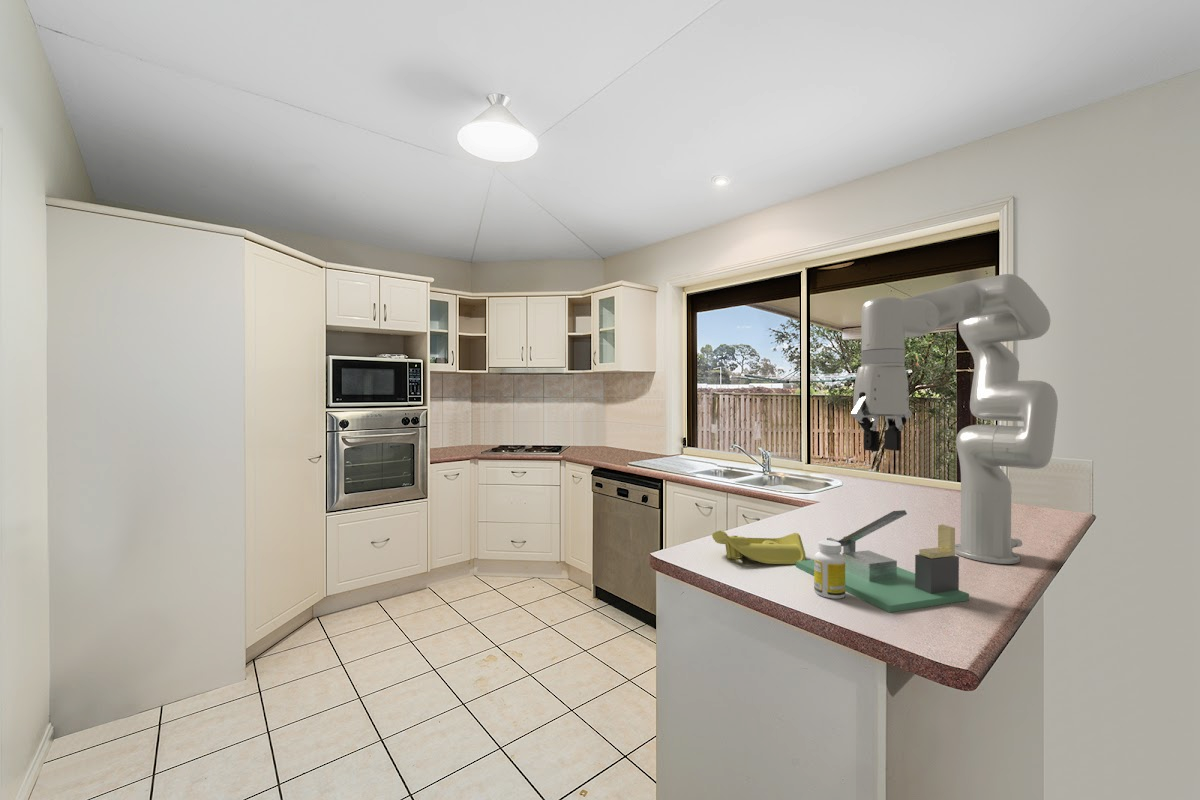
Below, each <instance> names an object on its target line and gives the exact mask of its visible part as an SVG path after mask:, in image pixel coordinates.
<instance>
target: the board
mask: <svg viewBox="0 0 1200 800" xmlns="http://www.w3.org/2000/svg"><path fill="white" fill-rule="evenodd" d="M846 536H847V535H845V536H843V537H842V539H843V538H845V537H846ZM826 540H830V541H836V542H839V539H835V538H832V537H826ZM856 542H857V541H855V542H853V543H851V544H849V545H847V546H842V547H843V548H842V549H843V550H842V551H843V552H842V553H848V552H856ZM795 567H796V568H797V569H799V570H802V571H804V572H805V573H808V574H810V575H812V576H814V559H808V560H807V559H805V560H804V561H796V564H795ZM845 593H849V594H851V595H853V596H855V597H857V598H859V599H861V600H863V601H866V602H867V603H869V604H871V605H873V606H875V607H877V608H880V609H882V610H884V611H886V612H888V613H895V612H901V611H908V610H916V609H919V608H921V609H922V608H928V607H935V606H940V605H946V604H947V605H948V604H954V603H959V602H960V603H961V602H965V601H966V602H967V601H969V600H970V593H967V592H965V591H962V590H960V589H959V590H955V591H948V592H941V593H934V594H930V593H927V592H925V591H922V590H920V589H918V588H915V572H912V571H910V570H907V569H904V568H902V567H899V566H897V578H893V579H885V580H877V581H867V580H865V579H863V578H860V577H858V576H856V575H853V574H851V573H849V572H847V571H845Z"/></svg>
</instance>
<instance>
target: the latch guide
mask: <svg viewBox="0 0 1200 800" xmlns="http://www.w3.org/2000/svg"><path fill="white" fill-rule="evenodd" d="M914 557H915V560H914V565H915V566H914V567H915V568H914V571H915V572H914V573H915V588H918V589H920V590H922V591H925V592H927V593H930V594H934V593H941V592H948V591H955V590H960V589H959V587H960V586H959V585H960V569H959V568H960V557H959V555H955V556H950V557H941V558H933V559H931V558H928V557H925V556H922V555H919V554H918V553H917V554H915V555H914Z"/></svg>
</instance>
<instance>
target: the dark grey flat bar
mask: <svg viewBox="0 0 1200 800" xmlns="http://www.w3.org/2000/svg"><path fill="white" fill-rule="evenodd" d="M907 515H908V513H907V511H906V510H903V509H901V510H893V511H890V512H888V514H886V515H883V516H881V517H879V518H878V519H876V520H874V521H872V522H871V523H868V524H867V525H865V526H863V527H862V528H860V529H857V530H856V531H854V532H852V533H850V534H848V535H845V536H846V537H845V536H844V537H845V538H843V537H842V538H841V539H838V541H839V543H841V547H843V546H847V545H849V544H851V543H853V542H855V541H856V542H857V541H858V540H860V539H863V538H864V537H866V536H869V535H870V534H872V533H874V532H876V531H878V530H880V529H881V528H884V527H885V526H887V525H889V524H891V523H893V522H895V521H896V520H898V519H900V518H903V517H904V516H907Z"/></svg>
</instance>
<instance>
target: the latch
mask: <svg viewBox="0 0 1200 800" xmlns="http://www.w3.org/2000/svg"><path fill="white" fill-rule="evenodd" d="M955 545H956V527H955V526H954V527H953V526H950V525H945V524H938V525H937V547H932V548H931V547H929V548H923V549H918V553H919V555H922V556H925V557H928V558H931V559H933V558H941V557H950V556H956V553H955Z"/></svg>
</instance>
